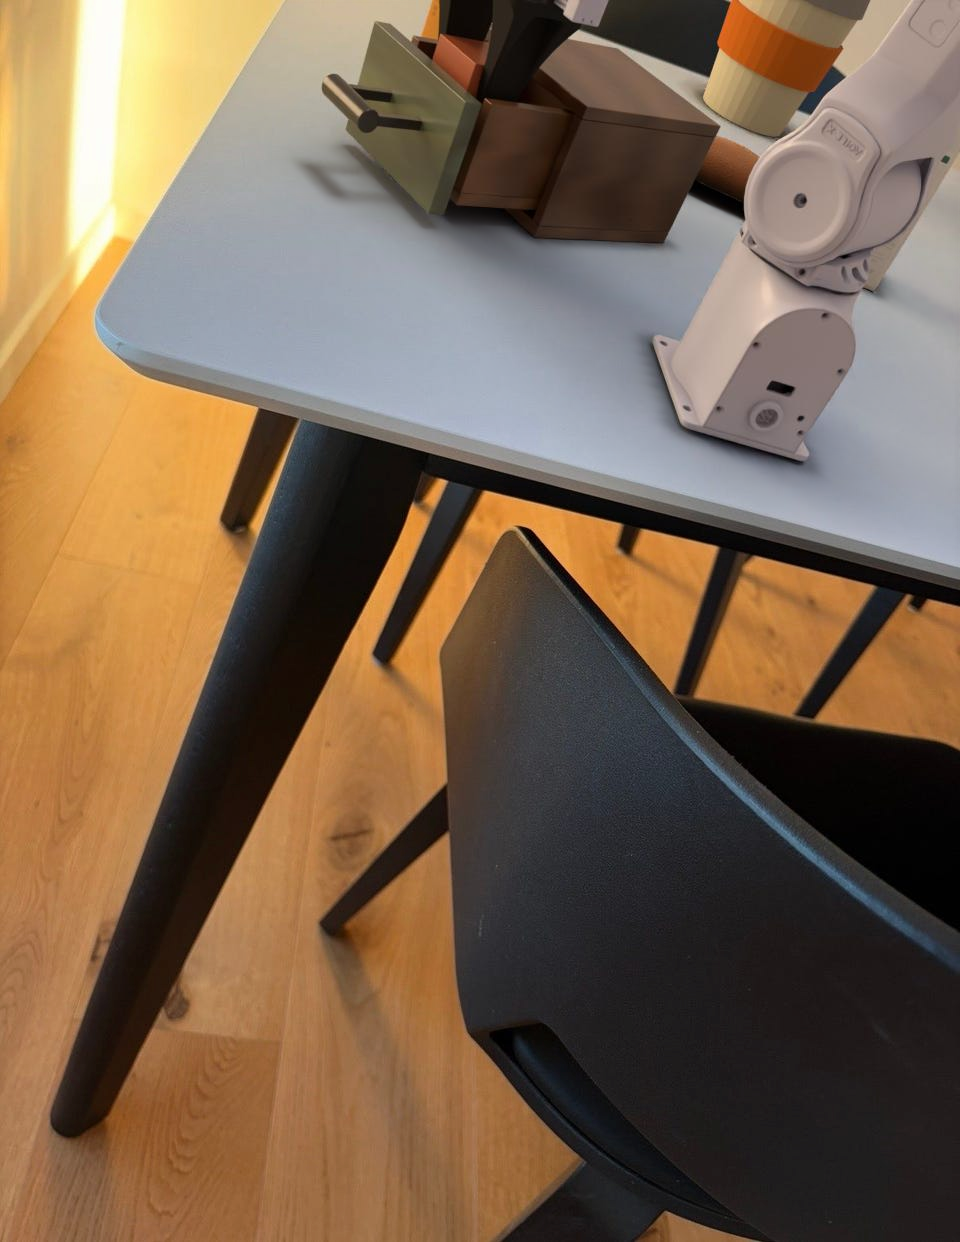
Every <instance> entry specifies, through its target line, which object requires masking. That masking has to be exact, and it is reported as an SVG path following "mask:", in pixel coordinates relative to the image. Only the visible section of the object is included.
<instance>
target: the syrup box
mask: <svg viewBox="0 0 960 1242" xmlns="http://www.w3.org/2000/svg"><path fill="white" fill-rule="evenodd" d="M959 155H960V125H959V128H958V132H957V135H956V139H955V141H954V144H953V146H952V147H951V148H950V150H949V151H948V152H947V153H946V155H945V156H944V157H943V158H942V160H941V161H940V163H939V164H938V165H937V167H936V169H935V171H934V173H933V174H932V177H931V180H930V182H929V186H928V190H927V194H926V198H925V202H924V205H923V207H922V209H921V212H920V214H919V215H918V217H917V219H916V220H915V222H914V223H913V224H912V225H911V227H910V228H909V229H908V230H907V231H906V232H905V233H904V234H903V235H901V236H900V237H899V238H897V239H896V240H894V241H893V242H891V243H889V244H886V245H884V246H881V247H878V248H874V249H873V252H872V253H871V257H872V258H871V264H870V271H869V273H868V276H869V278H868V280H867V281H866V283H865V285H864V286H863V289H867V290H869V291H871V292H874V291H875V290H876V289H877V288H878V286H879V284H880V283H881V281H882V279H883V278H884V276H885V275H886V273H887V272H888V270H889V268H890V267H891V266H892V264H893V262H894V260H895V259H896V257H898V254H900V253H899V252H900V251H901V250H902V248H903V247H904V245H905V243H906V241H907V240H908V238H909V236H910V235H911V234H912V232H913V230H914V228H915V227H916V226H917V223H918V222H919V220H921V217H922V215H923V214H924V212H925V210H926V209H927V207H928V205H930V202H931V201H932V200H933V197H934V196H935V194H936V193H937V191H938V190H939V187H940V186H941V184H942V183H943V181H944V179H945V178H946V176H947V174H948V173H949V172H950V169H951V168H952V166H953V165H954V163H955V161H956V160H957V158H958V157H959Z"/></svg>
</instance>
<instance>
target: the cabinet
mask: <svg viewBox="0 0 960 1242" xmlns="http://www.w3.org/2000/svg"><path fill="white" fill-rule="evenodd" d="M491 29H492V24H491V26H490V28H489V31H488V33H487V36H486V38H485V41H484V42H489V43H490V37H491ZM532 78H533V79H534V80H535V81H536V82H538V83H539V84H540V85H541V86H542V87H544V88H545V89H546V90H547V91H549V92H550V93H551V94H552V95H553V96H555V97H556V98H557V99H558V100H559V101H561V102H562V103H563V104H564V105H565V106H567V107H568V108H569V109H570V110H571V111H573V112H574V113H575V115H574V118H573V120H572V123H571V125H570V128H569V130H568V133H567V135H566V138H565V140H564V143H563V145H562V148H561V150H560V153H559V155H558V158H557V160H556V163H555V165H554V168H553V170H552V173H551V175H550V178H549V180H548V183H547V185H546V188H545V190H544V193H543V195H542V198H541V200H540V203H539V205H538V208H537V210H526V209H511V208H503V209H504V210H505V211H506V212H507V213H508V214H509V215H510V216H511V217H512V218H513V219H515V220H516V222H518V223H519V224H520V225H521V226H522V227H523V228H524V229H525V230H526V232H528V233H530V235H531V236H533V238H540V239H541V238H545V239H567V240H568V239H569V240H590V241H591V240H592V241H593V240H594V241H614V242H638V243H639V242H640V243H660V244H662V243H663V244H664V243H665V242H666V240H667V238H668V236H669V232H670V231H671V229H672V228H673V225H674V223H675V221H676V219H677V217H678V215H679V213H680V210H681V209H682V207H683V205H684V202H685V201H686V199H687V196H688V194H689V192H690V191H691V188H692V186H693V184H694V182H695V181H696V180H695V178H696V176H697V174H698V172H699V170H700V168H701V166H702V164H703V162H704V160H705V158H706V155H707V153H708V151H709V149H710V147H711V145H712V143H713V141H714V139H715V138H714V137H716V136H718V133H719V131H720V129H721V125H720V124H718V122H716V121H715V120H713V119H712V118H711V117H710V116H708V115H707V114H705V113H704V112H703V111H701V110H700V109H699V108H697V107H696V106H695V105H693V104H692V103H691V102H690V101H688V100H687V99H686V98H684V97H682V95H680V94H679V93H678V92H676V91H675V90H674V89H672V88H671V87H670V86H668V85H667V84H665V82H663V81H662V80H660V79H659V78H658V77H656V76H655V75H653V73H651V72H649V71H648V70H647V69H646V68H645V67H643V66H642V65H641V64H639V63H638V62H637V61H635V60H634V59H632V58H631V57H630V56H628V55H627V54H626V53H624V51H622V50H621V49H620V48H618V47H612V46H611V47H610V46H608V45H603V44H602V45H601V44H597V43H592V42H586V41H582V40H576V39H571V38H568V39H567V40H565V41H564V42H563V43H562V44H561V45H560V46H559V47H558V48H557V49H556V50H555V51H554V52H553V53H552V54H551V55H550V56H549V57H548V58H547V59H546V60H545V62H544V63H543V64H542V65H541V66H540V67H539V69H538V70H537V71H536V73H535V74H534V75H533V77H532Z"/></svg>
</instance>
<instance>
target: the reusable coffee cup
mask: <svg viewBox="0 0 960 1242" xmlns="http://www.w3.org/2000/svg"><path fill="white" fill-rule="evenodd" d="M870 3H871V0H730V3H729V6H728V9H727V12H726V16H725V18H724V21H723V24H722V26H721V27H722V28H721V30H720V33H719V36H718V39H717V42H716V43H717V46H718V52H717V55H716V57H715V61H714V64H713V66H712V70H711V72H710V75H709V78H708V81H707V83H706V86H705V89H704V93H703V96H702V100H703V101H704V103H705V104H706V105H707V106H708V108H710V109H711V110H712V111H714V112H715V113H717V114H718V115H720V116H721V117H723V118H724V119H726V120H727V121H729V122H731V123H733V124H735V125H737V126H739V127H741V128H743V129H746V130H749V131H751V132H753V133H756V134H759V135H761V136H762V135H764V136H766V137H773V138H774V137H775V138H776V137H779V136H781V135H782V133H783V131H784V130H785V129H786V127H787V125H788V124H789V123H790V121H791V120H792V118H793V117H794V115H795V114H796V112H797V111H798V110H799V108H800V107H801V105H802V103H803V102H804V101H805V99H806V98H807V96H808V94H809V93H813V92H816V90H817V88H818V87H819V86H820V84H821V83H822V81H823V80H824V79H825V77H826V75H827V74H828V73H829V71H830V69H831V68H832V66H833V65H834V64H835V62H836V61H837V59H838V58H839V57H840V55H841V53H842V51H844V46H843V45H842V44H843V43H844V41H845V40H846V38H847V37H848V35H849V34H850V32H851V31H852V30H853V28H854V26H855V25H856V24H857V22H858V21H863V19H864V17H865V15H866V12H867V10H868V7H869V5H870Z"/></svg>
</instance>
